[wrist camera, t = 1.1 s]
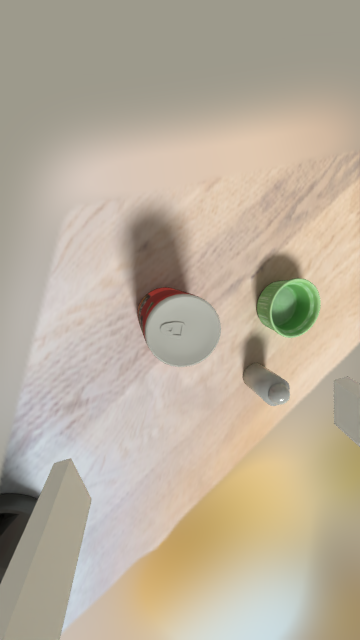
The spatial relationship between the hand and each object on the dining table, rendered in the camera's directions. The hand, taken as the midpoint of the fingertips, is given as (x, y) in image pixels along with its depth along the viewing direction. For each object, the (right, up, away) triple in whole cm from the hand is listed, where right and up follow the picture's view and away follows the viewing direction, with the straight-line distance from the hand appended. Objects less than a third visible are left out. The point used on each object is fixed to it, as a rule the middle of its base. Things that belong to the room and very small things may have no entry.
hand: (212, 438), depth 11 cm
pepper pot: (+11, -4, +28) cm, 31 cm away
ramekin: (+15, +8, +27) cm, 32 cm away
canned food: (-4, +7, +22) cm, 23 cm away
